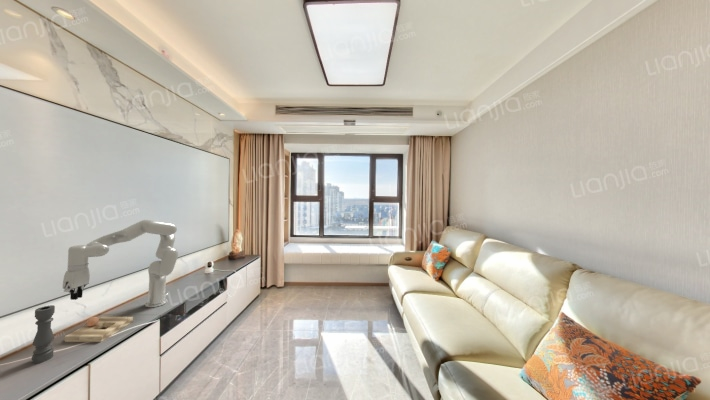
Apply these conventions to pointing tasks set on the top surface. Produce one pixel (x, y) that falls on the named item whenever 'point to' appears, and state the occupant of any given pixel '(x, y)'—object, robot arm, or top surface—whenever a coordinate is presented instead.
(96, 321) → the ball
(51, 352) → the candle holder
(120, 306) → the top surface
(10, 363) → the top surface
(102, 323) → the board
